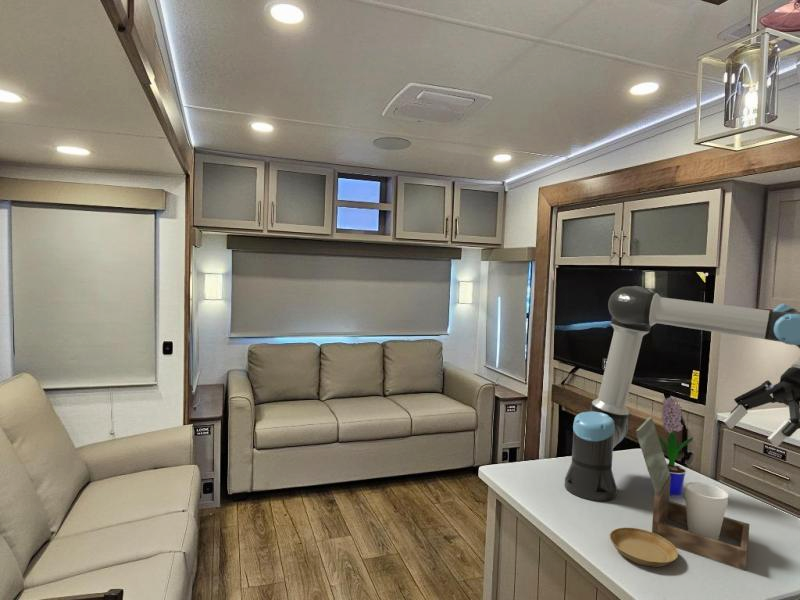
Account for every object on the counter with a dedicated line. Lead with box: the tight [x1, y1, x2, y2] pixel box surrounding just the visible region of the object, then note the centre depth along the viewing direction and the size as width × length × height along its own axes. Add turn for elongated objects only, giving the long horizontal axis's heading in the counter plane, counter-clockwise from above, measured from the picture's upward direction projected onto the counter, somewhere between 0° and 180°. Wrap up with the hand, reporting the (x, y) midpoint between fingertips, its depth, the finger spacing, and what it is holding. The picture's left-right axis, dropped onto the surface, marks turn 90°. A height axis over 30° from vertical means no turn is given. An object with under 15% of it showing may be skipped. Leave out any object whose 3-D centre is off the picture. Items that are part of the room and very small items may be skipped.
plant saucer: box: [609, 526, 679, 568], centre depth 115 cm, size 15×15×3 cm
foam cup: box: [683, 481, 729, 541], centre depth 122 cm, size 10×9×13 cm
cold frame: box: [635, 416, 750, 571], centre depth 122 cm, size 25×16×27 cm, turn 52°
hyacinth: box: [658, 396, 694, 496], centre depth 150 cm, size 9×10×30 cm
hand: (748, 433), depth 122 cm, fingers open, 13 cm apart
